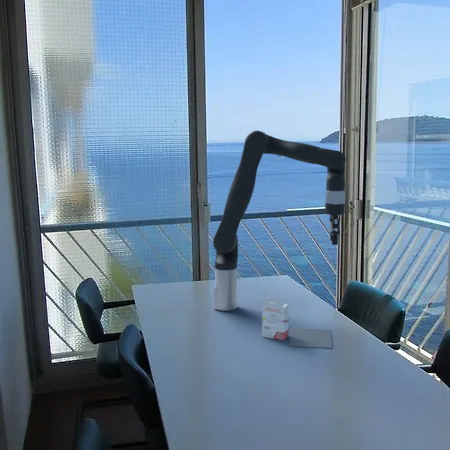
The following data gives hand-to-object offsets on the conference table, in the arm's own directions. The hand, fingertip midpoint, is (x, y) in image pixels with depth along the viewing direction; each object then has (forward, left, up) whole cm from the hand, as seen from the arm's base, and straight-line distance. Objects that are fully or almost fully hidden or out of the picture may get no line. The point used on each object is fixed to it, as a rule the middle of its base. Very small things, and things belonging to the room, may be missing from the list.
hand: (333, 242), depth 198 cm
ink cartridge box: (-21, -29, -29) cm, 46 cm away
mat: (-8, -29, -29) cm, 42 cm away
